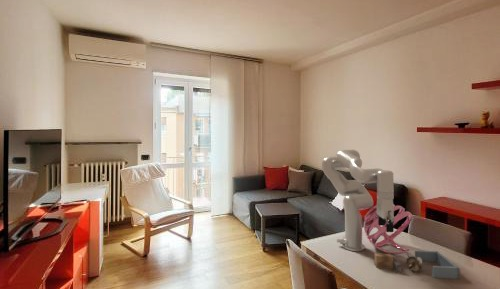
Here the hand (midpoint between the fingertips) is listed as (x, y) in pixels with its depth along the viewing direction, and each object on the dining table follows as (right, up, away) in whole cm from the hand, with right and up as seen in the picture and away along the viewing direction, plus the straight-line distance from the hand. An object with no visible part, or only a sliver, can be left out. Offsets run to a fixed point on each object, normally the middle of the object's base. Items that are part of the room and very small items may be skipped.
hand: (385, 228), depth 134 cm
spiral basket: (+12, -19, +21) cm, 30 cm away
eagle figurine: (+13, -20, -2) cm, 24 cm away
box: (+23, -19, -2) cm, 30 cm away
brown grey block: (-1, -20, 0) cm, 20 cm away
